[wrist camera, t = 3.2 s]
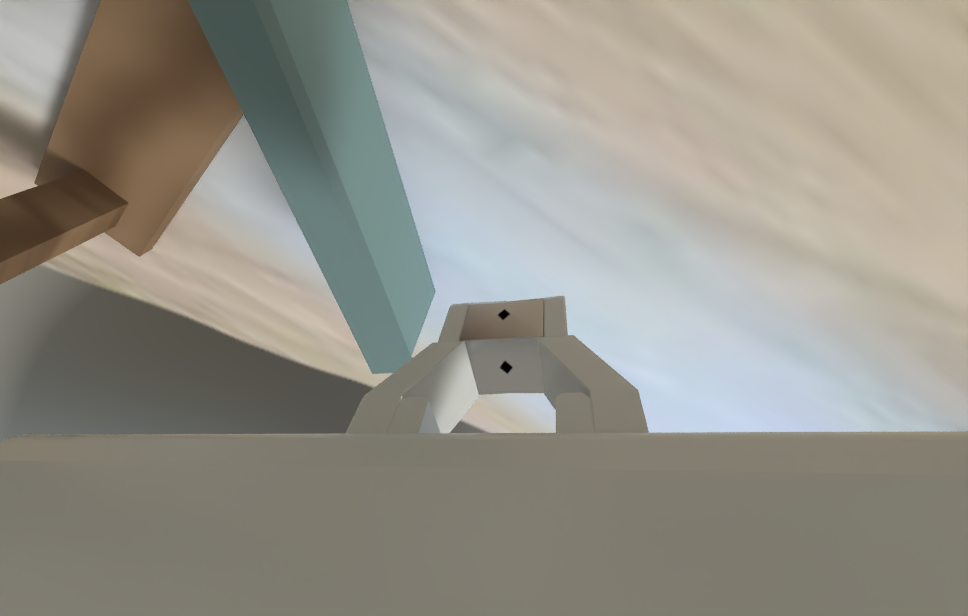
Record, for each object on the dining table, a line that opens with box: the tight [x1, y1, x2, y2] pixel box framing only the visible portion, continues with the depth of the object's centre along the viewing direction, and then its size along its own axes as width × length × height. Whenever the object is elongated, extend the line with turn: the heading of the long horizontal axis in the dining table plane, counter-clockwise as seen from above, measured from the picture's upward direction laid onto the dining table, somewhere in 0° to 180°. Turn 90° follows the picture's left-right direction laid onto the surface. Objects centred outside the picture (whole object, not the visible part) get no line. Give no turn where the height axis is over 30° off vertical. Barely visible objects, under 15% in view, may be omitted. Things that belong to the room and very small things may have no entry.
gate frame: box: [0, 0, 244, 284], centre depth 14 cm, size 6×27×11 cm, turn 130°
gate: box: [188, 0, 435, 374], centre depth 15 cm, size 19×2×7 cm, turn 10°
